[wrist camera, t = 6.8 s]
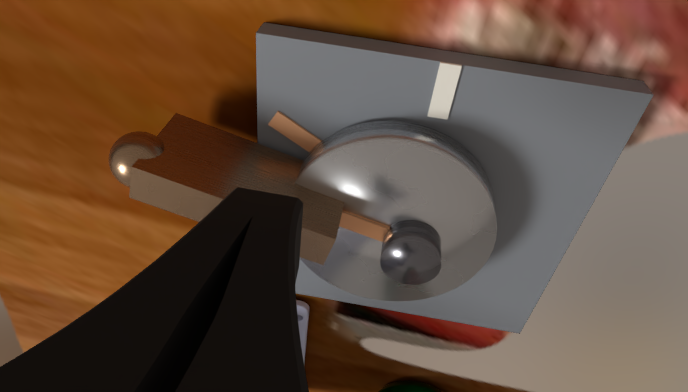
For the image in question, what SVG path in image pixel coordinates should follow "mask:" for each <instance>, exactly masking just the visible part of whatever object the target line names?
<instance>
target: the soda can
mask: <svg viewBox="0 0 688 392" xmlns="http://www.w3.org/2000/svg"><path fill="white" fill-rule="evenodd" d="M378 392H441V391H440V390H439V389H437V388H436V387H434V386H432V385H429V384H426V383H423V382H418V381H398V382H393V383H390V384H388V385H386V386H384V387H383V388H382V389H381V390H379V391H378Z"/></svg>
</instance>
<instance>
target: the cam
mask: <svg viewBox="0 0 688 392" xmlns="http://www.w3.org/2000/svg"><path fill="white" fill-rule="evenodd" d="M109 166H110V169H111V171H112V173H113V175H114V177H115V178H116V179H117V180H118V181H119V182H121V183H122V184H124V185H125V186H127V187H130V195H129V197H130V198H133V199H135V200H138V201H141V202H144V203H147V204H150V205H153V206H155V207H158V208H161V209H164V210H167V211H170V212H173V213H175V214H178V215H181V216H184V217H187V218H190V219H193V220H195V221H198V222H200V221H201V220H202V219H203V218H204V217H205V216H207V215H208V214H209V213H210V212H211V211H212V210H213V209H214V208H215V207H216V206H217V205H218V204H219V203H220V202H221V201H222V200H223V199H224V198H225V197H226V196H227V195H229V194H230V193H231V192H232V191H233V190H234V189H236V188H237V187H240V188H245V189H251V190H257V191H263V192H268V193H274V194H280V195H286V196H291V197H297V198H299V199H300V200H301V201H302V202H303V217H302V231H301V246H300V259H301V260H302V262H303V263H304V264H305V265H306V266H307V267H308V268H309V269H310V270H311V271H312V272H314V273H315V274H316V275H317V276H319V277H320V278H321V279H323V280H325V281H326V282H328V283H329V284H331V285H333V286H335V287H337V288H339V289H341V290H344V291H346V292H349V293H351V294H354V295H358V296H361V297H365V298H370V299H375V300H383V301H414V300H421V299H426V298H431V297H435V296H438V295H441V294H444V293H447V292H449V291H451V290H453V289H455V288H457V287H459V286H461V285H462V284H464V283H465V282H467V281H468V280H469V279H471V278H472V277H473V276H474V275H476V274H477V272H478V271H479V270H480V269H481V268H482V267H483V266H484V264H485V263H486V262H487V260H488V259H489V257H490V255H491V253H492V251H493V248H494V245H495V241H496V235H497V221H496V213H495V206H494V199H493V193H492V189H491V185H490V181H489V179H488V177H487V175H486V172H485V170H484V169H483V167H482V166H481V164H480V163H479V161H478V160H477V159H476V158H475V157H474V156H473V155H472V154H471V152H470V151H469V150H467V149H466V148H465V147H464V146H462V145H461V144H460V143H459V142H457V141H456V140H454V139H452V138H451V137H449V136H448V135H446V134H443V133H441V132H439V131H437V130H435V129H432V128H429V127H426V126H423V125H419V124H414V123H409V122H401V121H373V122H367V123H361V124H357V125H354V126H350V127H347V128H345V129H342V130H340V131H337V132H335V133H333V134H332V135H330V136H328V137H327V138H325V139H324V140H322V141H321V142H320V143H318V144H317V145H316V146H315V147H314V148H313V149H312V150H311V151H310V152H309V153H308V154H307V156H306V157H305V159H304V160H301V159H298V158H295V157H293V156H290V155H287V154H285V153H282V152H279V151H277V150H274V149H271V148H269V147H266V146H263V145H260V144H258V143H255V142H252V141H250V140H247V139H244V138H242V137H239V136H236V135H234V134H231V133H228V132H226V131H223V130H220V129H218V128H215V127H212V126H209V125H207V124H204V123H201V122H199V121H196V120H193V119H191V118H188V117H185V116H183V115H180V114H177V113H176V114H175V115H174V116H173V117H172V119H171V120H170V121H169V122H168V123H167V125H166V126H165V127H164V128H163V129H162V131H161V132H160V133H159V134H158V136H155V135H153V134H150V133H147V132H131V133H128V134H125V135H124V136H122V137H120V138H119V139H118V140H117V141H116V142H115V143H114V144H113V146H112V148H111V150H110V154H109Z"/></svg>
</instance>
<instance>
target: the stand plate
mask: <svg viewBox="0 0 688 392" xmlns="http://www.w3.org/2000/svg"><path fill="white" fill-rule="evenodd" d="M256 66H257V134H258V144H260V145H263V146H266V147H269V148H271V149H274V150H277V151H279V152H282V153H285V154H287V155H290V156H293V157H295V158H298V159H301V160H304V159H305V157H306V156H307V154H308V153H309V152H310V151H311V150H312V149H313V148H314V147H315V146H316V145H317V144H318V143H320V142H321V141H322V140H324V139H325V138H327V137H328V136H330V135H332V134H333V133H335V132H337V131H340V130H342V129H345V128H347V127H350V126H354V125H357V124H361V123H367V122H373V121H401V122H409V123H414V124H419V125H423V126H426V127H429V128H432V129H435V130H437V131H439V132H441V133H443V134H446V135H448V136H449V137H451V138H452V139H454V140H456V141H457V142H459V143H460V144H461V145H462V146H464V147H465V148H466V149H467V150H469V151H470V152H471V154H472V155H473V156H474V157H475V158H476V159H477V160H478V161H479V163H480V164H481V166H482V167H483V169H484V170H485V172H486V175H487V177H488V179H489V181H490V185H491V189H492V193H493V199H494V206H495V213H496V221H497V235H496V241H495V245H494V248H493V251H492V253H491V255H490V257H489V259H488V260H487V262H486V263H485V264H484V266H483V267H482V268H481V269H480V270H479V271H478V272H477V274H476V275H474V276H473V277H472V278H471V279H469V280H468V281H467V282H465V283H464V284H462V285H461V286H459V287H457V288H455V289H453V290H451V291H449V292H447V293H444V294H441V295H438V296H435V297H431V298H426V299H421V300H414V301H383V300H375V299H370V298H365V297H361V296H358V295H354V294H351V293H349V292H346V291H344V290H341V289H339V288H337V287H335V286H333V285H331V284H329V283H328V282H326V281H325V280H323V279H321V278H320V277H319V276H317V275H316V274H315V273H314V272H312V271H311V270H310V269H309V268H308V267H307V266H306V265H305V264H304V263H303V262H302V260H301V259H300V260H299V269H298V273H297V278H296V283H295V291H296V293H297V294H303V295H308V296H314V297H320V298H325V299H331V300H336V301H342V302H347V303H353V304H358V305H364V306H369V307H375V308H381V309H386V310H392V311H397V312H403V313H408V314H414V315H419V316H425V317H430V318H436V319H442V320H447V321H453V322H458V323H464V324H469V325H475V326H480V327H486V328H491V329H497V330H503V331H508V332H514V333H519V334H520V332H521V331H522V329H523V327H524V325H525V323H526V322H527V320H528V318H529V316H530V314H531V313H532V311H533V309H534V307H535V306H536V304H537V302H538V300H539V298H540V297H541V295H542V293H543V291H544V289H545V288H546V286H547V284H548V282H549V281H550V279H551V277H552V275H553V273H554V272H555V270H556V268H557V266H558V264H559V263H560V261H561V259H562V257H563V255H564V254H565V252H566V250H567V248H568V247H569V245H570V243H571V241H572V240H573V238H574V235H575V234H576V232H577V230H578V229H579V227H580V225H581V223H582V222H583V220H584V218H585V216H586V214H587V213H588V211H589V209H590V207H591V206H592V204H593V202H594V200H595V198H596V197H597V195H598V193H599V191H600V190H601V188H602V186H603V184H604V182H605V181H606V179H607V177H608V175H609V174H610V171H611V170H612V168H613V166H614V164H615V163H616V161H617V159H618V157H619V155H620V154H621V152H622V150H623V149H624V147H625V145H626V143H627V141H628V140H629V138H630V136H631V134H632V132H633V131H634V129H635V127H636V125H637V124H638V122H639V120H640V118H641V116H642V115H643V113H644V111H645V109H646V107H647V106H648V104H649V102H650V100H651V99H652V97H653V93H652V92H651V91H650V89H649V88H648V87H647V85H646V84H645V83H644V81H640V80H634V79H627V78H621V77H614V76H608V75H601V74H595V73H588V72H582V71H575V70H569V69H562V68H556V67H550V66H543V65H537V64H530V63H524V62H517V61H511V60H504V59H498V58H491V57H485V56H478V55H472V54H465V53H459V52H452V51H446V50H440V49H433V48H427V47H420V46H414V45H407V44H401V43H394V42H388V41H381V40H375V39H368V38H362V37H355V36H349V35H342V34H336V33H329V32H323V31H317V30H310V29H304V28H297V27H291V26H284V25H278V24H271V23H265V22H264V23H263V24H262V26H261V27H260V28H259V30H258V31H257V32H256Z"/></svg>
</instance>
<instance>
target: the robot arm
mask: <svg viewBox="0 0 688 392" xmlns="http://www.w3.org/2000/svg"><path fill="white" fill-rule="evenodd" d="M302 217H303V202H302V201H301V200H300V199H299V198H297V197H291V196H286V195H280V194H274V193H268V192H263V191H257V190H251V189H245V188H240V187H237V188H236V189H234V190H233V191H232V192H231V193H230V194H229V195H227V196H226V197H225V198H224V199H223V200H222V201H221V202H220V203H219V204H218V205H217V206H216V207H215V208H214V209H213V210H212V211H211V212H210V213H209V214H208V215H207V216H205V217H204V218H203V219H202V220H201V221H200V222H199V223H198V224H197V225H196V226H195V227H194V228H192V229H191V230H190V231H189V232H188V233H187V234H186V235H185V236H183V237H182V238H181V239H180V240H179V241H178V242H176V243H175V244H174V245H173V246H172V247H171V248H170V249H168V250H167V251H166V252H165V253H164V254H163V255H161V256H160V257H159V258H158V259H157V260H155V261H154V262H153V263H152V264H150V265H149V266H148V267H147V268H145V269H144V270H143V271H142V272H140V273H139V274H138V275H136V276H135V277H134V278H133V279H131V280H130V281H129V282H128V283H126V284H125V285H124V286H122V287H121V288H120V289H119V290H117V291H116V292H115V293H113V294H112V295H110V296H109V297H108V298H106V299H105V300H104V301H102V302H101V303H99V304H98V305H97V306H95V307H94V308H92V309H91V310H90V311H88V312H87V313H85V314H84V315H82V316H81V317H79V318H78V319H76V320H75V321H73V322H72V323H70V324H69V325H67V326H66V327H64V328H63V329H61V330H60V331H58V332H57V333H55V334H53V335H52V336H50V337H49V338H47V339H45V340H44V341H42V342H40V343H39V344H37V345H36V346H34V347H32V348H31V349H29V350H28V351H26V352H24V353H23V354H21V355H20V356H18V357H16V358H15V359H13V360H11V361H9V362H8V363H6V364H4V365H3V366H1V367H0V392H309V390H308V385H307V380H306V373H305V367H304V364H305V353H306V342H307V330H308V319H309V305H308V304H307V303H305V302H303V301H300V300H296V291H295V283H296V278H297V273H298V269H299V260H300V246H301V231H302Z"/></svg>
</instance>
